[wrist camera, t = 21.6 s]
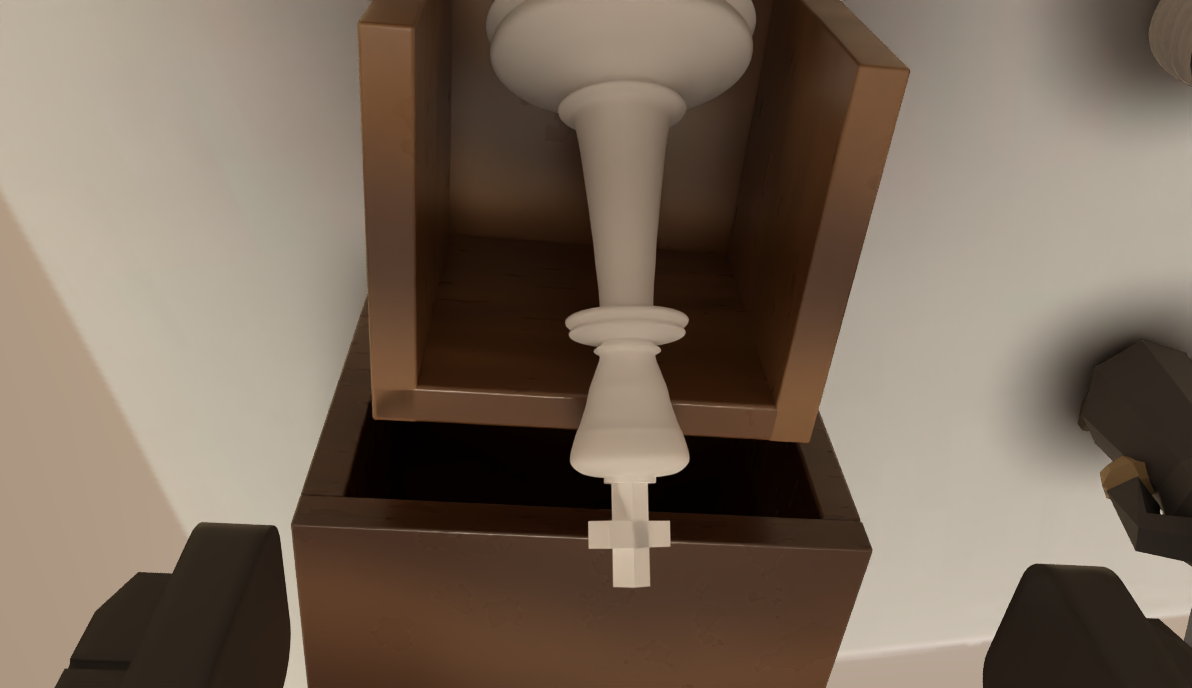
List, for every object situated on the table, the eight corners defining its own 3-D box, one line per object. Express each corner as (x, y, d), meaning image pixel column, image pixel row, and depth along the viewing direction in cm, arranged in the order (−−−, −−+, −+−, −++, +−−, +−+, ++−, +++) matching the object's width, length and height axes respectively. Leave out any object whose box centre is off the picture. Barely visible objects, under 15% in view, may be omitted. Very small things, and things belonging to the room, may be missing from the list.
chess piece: (652, -92, 14) (671, 601, 12) (804, 36, 18) (836, 582, 16) (429, 19, 17) (416, 591, 15) (599, 109, 21) (606, 577, 19)
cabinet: (373, 275, 25) (290, 524, 17) (778, 302, 25) (874, 550, 18) (383, 570, 30) (324, 856, 23) (714, 584, 31) (765, 864, 24)
